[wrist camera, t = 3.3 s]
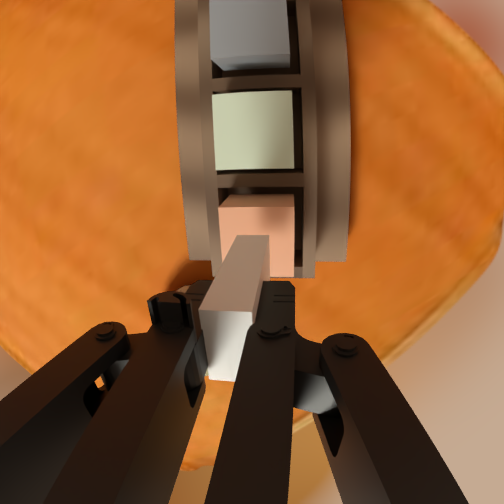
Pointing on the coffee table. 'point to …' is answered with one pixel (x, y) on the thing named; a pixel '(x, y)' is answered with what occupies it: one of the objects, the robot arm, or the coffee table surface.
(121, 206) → the coffee table surface
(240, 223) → the terracotta key
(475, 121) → the coffee table surface
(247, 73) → the brown stepped piece
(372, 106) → the coffee table surface
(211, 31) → the slate key
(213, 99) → the sage key
